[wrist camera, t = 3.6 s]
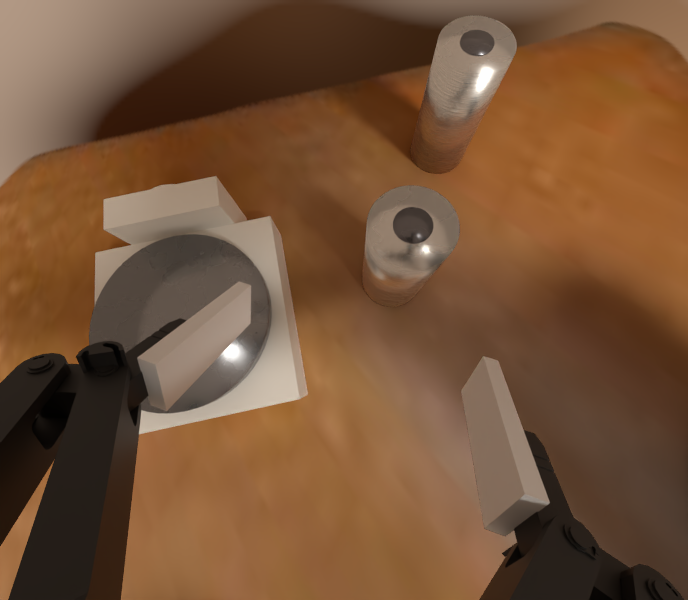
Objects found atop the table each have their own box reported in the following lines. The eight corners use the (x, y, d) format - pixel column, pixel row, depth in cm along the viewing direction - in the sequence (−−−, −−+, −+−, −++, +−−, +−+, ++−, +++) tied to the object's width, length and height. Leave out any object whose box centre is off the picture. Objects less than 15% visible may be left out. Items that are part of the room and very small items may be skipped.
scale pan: (259, 224, 25) (255, 218, 25) (284, 389, 22) (280, 390, 21) (100, 257, 25) (90, 253, 24) (99, 429, 22) (87, 432, 21)
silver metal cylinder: (411, 246, 29) (444, 176, 18) (426, 300, 28) (473, 257, 17) (356, 258, 29) (357, 194, 18) (369, 312, 28) (379, 277, 17)
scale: (276, 207, 31) (254, 162, 24) (308, 394, 26) (291, 403, 19) (128, 238, 31) (64, 201, 24) (131, 432, 26) (52, 456, 19)
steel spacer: (453, 126, 33) (501, 7, 22) (469, 167, 31) (529, 62, 20) (404, 136, 33) (428, 22, 22) (418, 178, 31) (451, 78, 20)
